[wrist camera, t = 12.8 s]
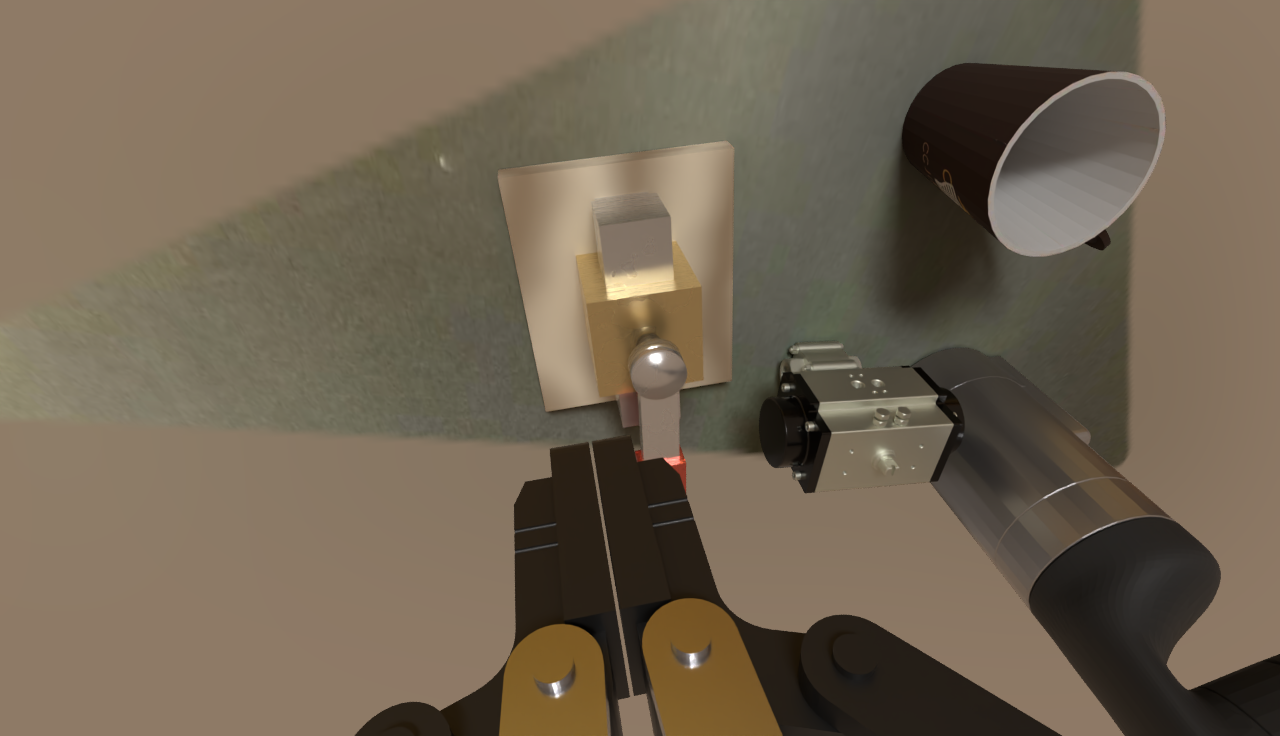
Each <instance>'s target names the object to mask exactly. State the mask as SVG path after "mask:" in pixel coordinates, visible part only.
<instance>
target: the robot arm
mask: <svg viewBox="0 0 1280 736" xmlns="http://www.w3.org/2000/svg"><path fill="white" fill-rule="evenodd" d="M912 367H921V368H922V369H923V370H924V371H925V372H926V373H927V374H928V375H929V377H930V378H931V379H932V380H933V381H934V382H935V383H936V384H937V385H938V386H939V387H943V388H946V389H948V390H949V391H951V392H952V393H953V394H954V395H955V396H956V398H957V399H958V401H959V403H960V405H961V407H962V410H963V414H964V419H965V432H964V437H963V440H962V442H961V444H960V446H959V447H958V449H957V450H956V451H954V452H953V453H951V454H950V455H949V457H948V460H947V462H946V464H945V467H944V469H943V471H942V473H941V476H940V478H939V480H938V481H937V482H930V483H931V484H932V485H933V487H934V488H935V489H936V491H937V492H938V493H939V494H940V496H941V497H942V498H943V500H944V501H945V502H946V503H947V505H948V506H949V507H950V508H951V510H952V511H953V512H954V514H955V515H956V516H957V517H958V519H959V520H960V521H961V522H962V524H963V525H964V526H965V528H966V529H967V530H968V532H969V533H970V534H971V535H972V537H973V538H974V539H975V540H976V542H977V543H978V544H979V546H980V547H981V548H982V549H983V551H984V552H985V553H986V555H987V556H988V557H989V558H990V560H991V561H992V562H993V564H994V565H995V566H996V567H997V569H998V570H999V571H1000V572H1001V574H1002V575H1003V576H1004V577H1005V579H1006V580H1007V581H1008V583H1009V584H1010V585H1011V586H1012V588H1013V589H1014V590H1015V592H1016V593H1017V594H1018V595H1019V597H1020V598H1021V599H1022V600H1023V602H1024V603H1025V604H1026V606H1027V607H1028V608H1029V609H1030V610H1031V612H1032V614H1033V615H1034V616H1035V617H1036V619H1037V620H1038V621H1039V622H1040V624H1041V625H1042V626H1043V627H1044V629H1045V630H1046V631H1047V633H1048V634H1049V635H1050V636H1051V638H1052V639H1053V640H1054V642H1055V643H1056V644H1057V646H1058V647H1059V649H1060V650H1061V651H1062V653H1063V654H1064V655H1065V657H1066V658H1067V659H1068V661H1069V662H1070V663H1071V665H1072V666H1073V667H1074V669H1075V670H1076V671H1077V672H1078V674H1079V675H1080V676H1081V678H1082V679H1083V681H1084V682H1085V683H1086V684H1087V686H1088V687H1089V688H1090V690H1091V691H1092V692H1093V694H1094V695H1095V696H1096V697H1097V699H1098V700H1099V701H1100V703H1101V704H1102V705H1103V707H1104V708H1105V709H1106V710H1107V712H1108V713H1109V715H1110V716H1111V717H1112V719H1113V720H1114V722H1115V723H1116V724H1117V726H1118V727H1119V728H1120V730H1121V731H1122V733H1123V734H1124V735H1125V736H1280V654H1279V655H1276V656H1273V657H1271V658H1268V659H1266V660H1263V661H1260V662H1257V663H1255V664H1253V665H1250V666H1248V667H1245V668H1243V669H1240V670H1238V671H1235V672H1233V673H1230V674H1228V675H1226V676H1223V677H1220V678H1218V679H1216V680H1213V681H1211V682H1208V683H1206V684H1204V685H1201V686H1198V687H1197V688H1194V689H1191V690H1187V689H1185V688H1184V687H1183V686H1182V685H1181V684H1180V683H1179V682H1178V681H1177V679H1176V678H1175V677H1174V676H1173V674H1172V673H1171V671H1170V670H1169V669H1168V667H1167V665H1166V664H1167V661H1168V658H1169V656H1170V654H1171V652H1172V650H1173V648H1174V646H1175V645H1176V643H1177V642H1178V641H1179V639H1180V638H1181V637H1182V636H1183V635H1184V634H1185V633H1186V631H1187V630H1188V629H1189V628H1190V627H1191V626H1192V625H1193V624H1194V623H1195V622H1196V620H1197V619H1198V618H1199V617H1200V616H1201V615H1202V614H1203V612H1205V610H1206V609H1207V608H1208V606H1209V605H1210V603H1211V602H1212V600H1213V599H1214V596H1215V594H1216V592H1217V590H1218V587H1219V584H1220V579H1221V572H1220V568H1219V564H1218V563H1217V561H1216V559H1215V558H1214V557H1213V555H1212V554H1211V553H1210V551H1209V550H1208V549H1207V548H1206V547H1205V546H1204V545H1202V544H1201V543H1200V542H1199V541H1198V540H1197V539H1196V538H1195V537H1193V536H1192V535H1191V534H1190V533H1189V532H1188V531H1187V530H1185V529H1184V528H1183V527H1182V526H1181V525H1180V524H1178V523H1177V522H1176V521H1174V520H1173V519H1172V518H1171V517H1170V516H1169V515H1167V514H1166V513H1165V512H1164V511H1163V510H1162V509H1161V508H1159V507H1158V506H1157V505H1156V504H1155V503H1154V502H1153V501H1151V500H1150V499H1149V498H1148V497H1147V496H1146V495H1145V494H1143V493H1142V492H1141V491H1140V490H1139V489H1138V488H1137V487H1135V486H1134V485H1133V484H1132V483H1131V482H1129V481H1128V480H1127V479H1126V478H1125V477H1124V476H1123V475H1121V474H1120V473H1119V472H1118V471H1117V470H1116V469H1114V468H1113V467H1112V466H1111V465H1110V464H1109V463H1108V462H1106V461H1105V460H1104V459H1103V458H1102V457H1101V456H1100V455H1098V454H1097V453H1096V452H1095V451H1094V450H1093V449H1092V448H1090V447H1089V446H1088V444H1089V442H1090V438H1091V436H1090V433H1089V431H1088V430H1087V429H1086V428H1085V427H1084V426H1082V425H1081V424H1080V423H1079V422H1078V421H1077V420H1075V419H1074V418H1073V417H1072V416H1071V415H1069V414H1068V413H1067V412H1066V411H1065V410H1064V409H1062V408H1061V407H1060V406H1059V405H1058V404H1056V403H1055V402H1054V401H1053V400H1052V399H1051V398H1049V397H1048V396H1047V395H1046V394H1045V393H1043V392H1042V391H1041V390H1040V389H1039V388H1038V387H1036V386H1035V385H1034V384H1033V383H1032V382H1030V381H1029V380H1028V379H1027V378H1026V377H1025V376H1023V375H1022V374H1021V373H1020V372H1019V371H1017V370H1016V369H1015V368H1014V367H1013V366H1012V365H1010V364H1009V363H1008V362H1007V361H1006V360H1004V359H1003V358H1002V357H1001V356H995V357H988V356H986V355H984V354H982V353H981V352H979V351H977V350H974V349H970V348H952V349H945V350H942V351H939V352H936V353H933V354H931V355H929V356H927V357H925V358H924V359H922V360H920V361H919V362H917V363H916V364H914V365H913V366H911V368H912ZM592 445H593V451H594V458H595V463H596V470H597V477H598V483H599V489H600V496H601V502H602V508H603V514H604V520H605V526H606V532H607V538H608V544H609V550H610V556H611V562H612V568H613V574H614V580H615V586H616V592H617V598H618V603H619V610H620V616H621V621H622V627H623V633H624V639H625V645H626V651H627V657H628V663H629V669H630V675H631V681H632V687H633V693H634V696H635V695H641V694H645V693H646V694H647V699H648V704H649V710H650V716H651V721H652V726H653V733H654V736H1062V735H1060V734H1058V733H1057V732H1055V731H1053V730H1052V729H1050V728H1048V727H1047V726H1045V725H1043V724H1042V723H1040V722H1038V721H1037V720H1035V719H1033V718H1032V717H1030V716H1028V715H1027V714H1025V713H1023V712H1022V711H1020V710H1018V709H1017V708H1015V707H1013V706H1011V705H1010V704H1008V703H1007V702H1005V701H1003V700H1001V699H1000V698H998V697H997V696H995V695H993V694H992V693H990V692H988V691H987V690H985V689H983V688H982V687H980V686H978V685H977V684H975V683H973V682H972V681H970V680H968V679H967V678H965V677H963V676H962V675H960V674H958V673H957V672H955V671H953V670H952V669H950V668H948V667H947V666H945V665H943V664H942V663H940V662H938V661H937V660H935V659H933V658H932V657H930V656H928V655H927V654H925V653H923V652H922V651H920V650H918V649H917V648H915V647H913V646H911V645H910V644H908V643H907V642H905V641H903V640H902V639H900V638H898V637H896V636H895V635H893V634H892V633H890V632H888V631H887V630H885V629H883V628H881V627H880V626H878V625H877V624H875V623H873V622H871V621H869V620H866V619H864V618H861V617H857V616H852V615H833V616H829V617H826V618H824V619H822V620H819V621H818V622H816V623H815V624H814V625H812V626H811V628H810V629H809V630H808V631H807V633H797V632H788V631H779V630H771V629H765V628H761V627H758V626H754V625H752V624H750V623H748V622H746V621H744V620H742V619H741V618H739V617H737V616H736V615H735V614H734V613H733V612H732V611H730V610H729V608H728V607H727V606H726V605H725V604H724V602H723V601H722V599H721V598H720V595H719V593H718V591H717V588H716V585H715V582H714V579H713V576H712V573H711V569H710V566H709V563H708V560H707V557H706V554H705V551H704V548H703V545H702V542H701V539H700V535H699V532H698V529H697V526H696V523H695V521H694V518H693V514H692V511H691V508H690V504H689V502H688V500H687V495H686V492H685V489H684V486H683V483H682V480H681V477H680V474H679V473H678V472H677V471H676V470H675V469H674V468H673V467H672V466H671V465H670V464H669V463H668V462H667V461H666V460H665V459H664V458H663V457H661V458H656V459H650V460H644V461H639V462H637V460H636V456H635V452H634V448H633V444H632V440H631V436H630V435H625V436H619V437H613V438H608V439H602V440H596V441H592ZM550 457H551V470H552V477H550V478H544V479H539V480H533V481H527V482H525V484H524V486H523V488H522V490H521V492H520V494H519V496H518V498H517V500H516V502H515V504H514V530H515V536H514V537H515V612H516V633H515V641H514V645H513V648H512V651H511V653H510V656H509V657H508V659H507V661H506V663H505V664H504V666H503V667H502V669H501V670H500V671H499V672H498V673H497V675H495V676H494V678H493V679H492V680H490V681H489V682H488V683H487V684H485V685H484V686H483V687H482V688H480V689H478V690H477V691H475V692H473V693H472V694H470V695H468V696H466V697H464V698H462V699H461V700H459V701H457V702H455V703H453V704H452V705H450V706H448V707H446V708H444V709H443V710H441V711H439V710H437V709H436V708H435V707H433V706H431V705H428V704H425V703H421V702H407V703H401V704H398V705H395V706H392V707H390V708H388V709H386V710H384V711H382V712H380V713H379V714H377V715H376V716H374V717H373V718H372V719H371V720H369V721H368V722H367V723H366V724H365V725H364V726H363V727H362V728H361V729H360V730H359V731H358V732H357V734H356V735H355V736H623V733H622V726H621V719H620V713H619V706H618V700H619V699H624V698H628V697H630V695H629V688H628V683H627V676H626V670H625V664H624V658H623V651H622V645H621V640H620V633H619V627H618V621H617V615H616V609H615V602H614V596H613V590H612V584H611V578H610V572H609V565H608V559H607V553H606V547H605V541H604V534H603V529H602V523H601V516H600V510H599V504H598V498H597V491H596V486H595V480H594V473H593V467H592V461H591V455H590V448H589V442H585V443H580V444H574V445H568V446H562V447H557V448H551V449H550Z"/></svg>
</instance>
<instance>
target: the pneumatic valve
mask: <svg viewBox="0 0 1280 736" xmlns="http://www.w3.org/2000/svg"><path fill="white" fill-rule="evenodd" d="M843 348H844V347H843V344H840V342H839V341H820V342H797V343H795V344H794V346H791V347H790V348H789V352H790V353H791V354H794V355H793V358H789V359H783V361H782V362H781V365H780V381H781V382H780V386H779V391H778V395H777V397H769V398H767V399H766V400H765V401H764V403H763V405H762V407H761V411H760V418H759V433H760V441H761V446H762V449H763V452H764V455H765V457H766V459H767V461H768V463H769V464H770V465H771V466H772V467H774V468H784V467H791V468H792V470H793V473H792V476H793V479H794V480H798V481H799V483H800V485H801V487H802V489H803V491H804V493H812V492H813V493H814V492H825V491H835V490H847V489H859V488H870V487H880V486H891V485H904V484H915V483H926V482H937V481H938V480H939V478H940V476H941V473H942V471H943V469H944V467H945V464H946V462H947V460H948V457H949V455H950V454H951V453H953V452H954V451H956V450H957V449H958V447H959V446H960V444H961V442H962V440H963V437H964V432H965V419H964V414H963V410H962V407H961V405H960V403H959V401H958V399H957V398H956V396H955V395H954V394H953V393H952V392H951V391H949V390H948V389H946V388H943V387H939V386H938V385H937V384H936V383H935V382H934V381H933V380H932V379H931V378H930V377H929V375H928V374H927V373H926V372H925V371H924V370H923V369H922V368H921V367H912V368H911V367H910V366H893V367H875V368H862V365H861V362H860V360H859V359H858V357H857V356H848V355H847V354H846V352H845V351H844V350H843Z"/></svg>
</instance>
